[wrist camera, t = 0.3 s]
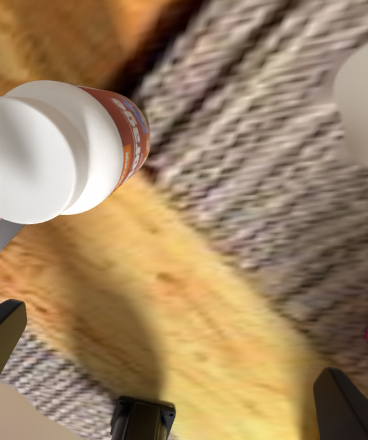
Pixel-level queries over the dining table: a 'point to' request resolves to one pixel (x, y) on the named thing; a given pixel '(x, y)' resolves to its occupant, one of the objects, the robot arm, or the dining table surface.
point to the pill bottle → (65, 148)
